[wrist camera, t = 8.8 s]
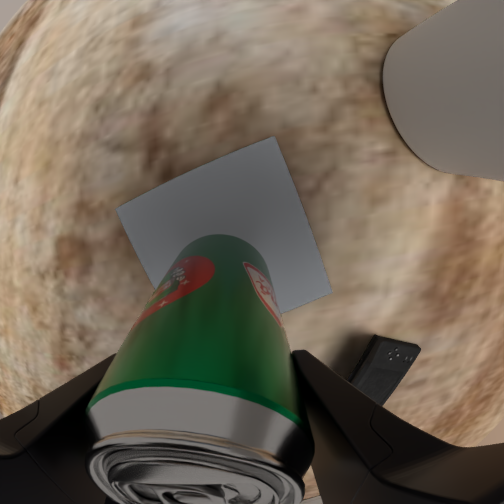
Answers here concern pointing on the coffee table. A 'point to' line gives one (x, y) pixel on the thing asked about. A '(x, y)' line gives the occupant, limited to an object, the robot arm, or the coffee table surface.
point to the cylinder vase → (452, 88)
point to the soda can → (203, 391)
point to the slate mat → (232, 220)
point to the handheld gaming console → (383, 367)
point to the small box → (313, 500)
